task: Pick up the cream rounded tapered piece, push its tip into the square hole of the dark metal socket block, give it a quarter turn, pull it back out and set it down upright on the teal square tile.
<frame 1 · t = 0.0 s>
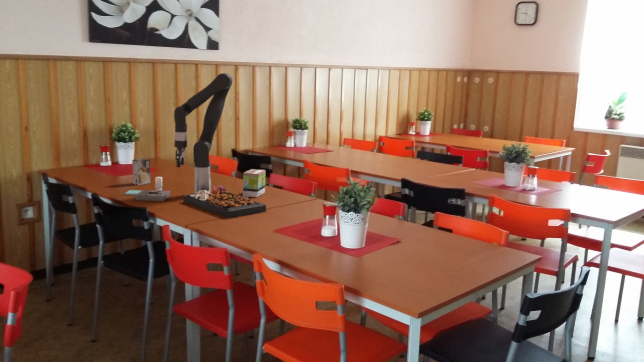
hand: (180, 165, 346), 17 cm above the table, tool pointing down, fingers open, 8 cm apart
food platter: (223, 208, 321), on the table
teal square tile: (134, 193, 345), on the table
cream rounded tapered piece: (159, 193, 347), on the table
coffee box: (141, 184, 374), on the table
tea box: (254, 194, 354), on the table
socket block: (153, 198, 336), on the table
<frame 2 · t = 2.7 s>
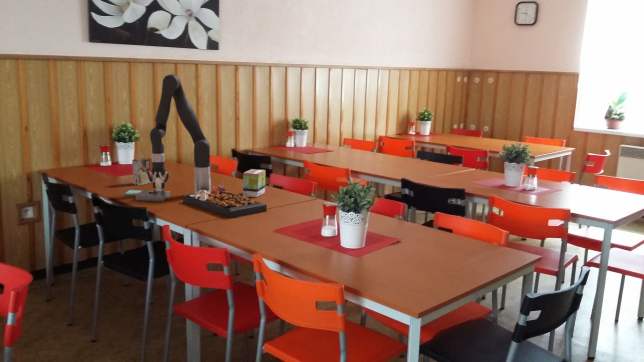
hand: (158, 188, 347), 3 cm above the table, tool pointing down, fingers closed on cream rounded tapered piece, 4 cm apart
cream rounded tapered piece: (159, 193, 347), on the table, touching gripper
everything else where it was.
when the fingers open (5 cm above the table, at t = 14.3 s): cream rounded tapered piece stays where it is, resting on teal square tile.
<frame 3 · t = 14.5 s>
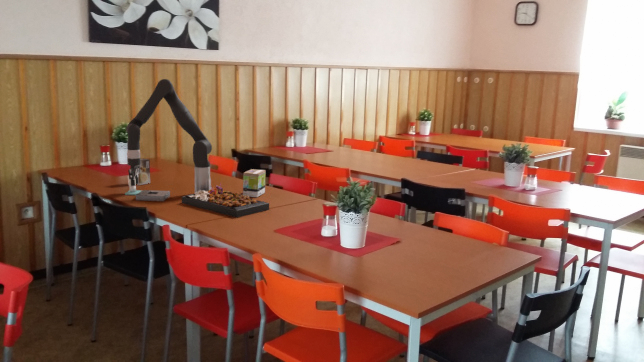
hand: (134, 184, 344), 5 cm above the table, tool pointing down, fingers open, 5 cm apart
cream rounded tapered piece: (133, 191, 345), point 1 cm above the table, touching teal square tile
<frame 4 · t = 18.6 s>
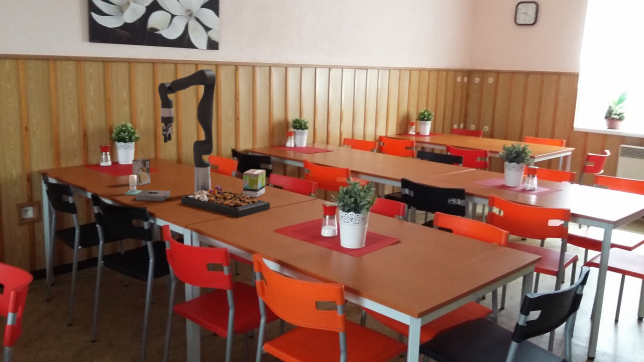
hand: (167, 141, 355), 30 cm above the table, tool pointing down, fingers open, 8 cm apart
at the end: cream rounded tapered piece 1.1 cm off-centre on the teal square tile, point 1.0 cm above the teal square tile's base; cream rounded tapered piece tilted 1°; the gripper is holding nothing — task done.
